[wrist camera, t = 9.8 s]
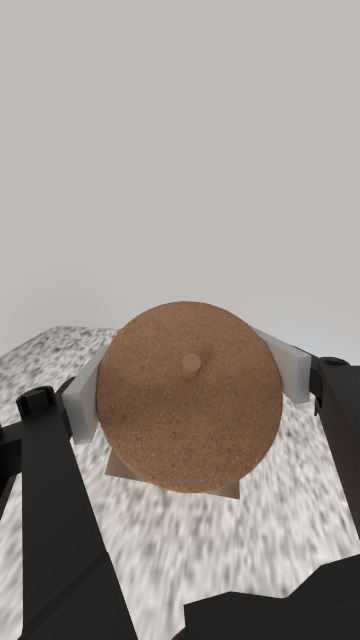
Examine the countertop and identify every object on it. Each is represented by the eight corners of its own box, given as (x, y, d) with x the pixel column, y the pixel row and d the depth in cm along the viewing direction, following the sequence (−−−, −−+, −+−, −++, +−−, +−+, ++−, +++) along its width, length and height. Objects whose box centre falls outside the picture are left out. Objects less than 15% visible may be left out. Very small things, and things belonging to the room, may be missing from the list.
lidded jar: (147, 335, 21) (131, 271, 13) (245, 358, 20) (292, 302, 12) (104, 449, 15) (30, 456, 7) (238, 490, 14) (317, 550, 6)
